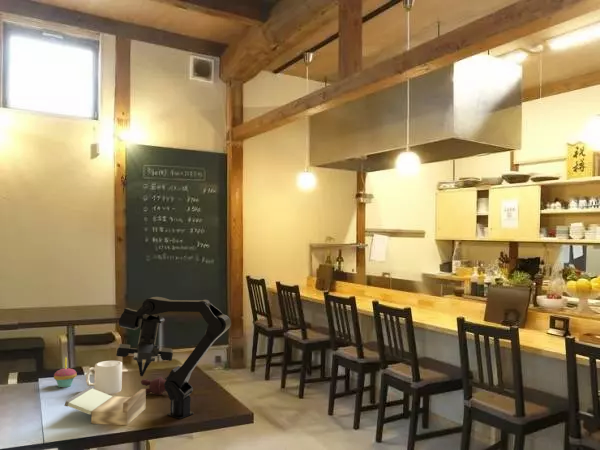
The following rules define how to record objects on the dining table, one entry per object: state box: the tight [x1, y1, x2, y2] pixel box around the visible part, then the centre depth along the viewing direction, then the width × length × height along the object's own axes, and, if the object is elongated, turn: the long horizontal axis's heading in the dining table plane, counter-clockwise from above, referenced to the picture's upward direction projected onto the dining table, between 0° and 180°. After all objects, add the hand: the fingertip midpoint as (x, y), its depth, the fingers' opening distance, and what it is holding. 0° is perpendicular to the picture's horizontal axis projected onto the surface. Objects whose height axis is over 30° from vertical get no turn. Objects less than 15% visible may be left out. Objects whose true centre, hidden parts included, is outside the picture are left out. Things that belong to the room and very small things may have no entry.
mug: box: [85, 360, 123, 395], centre depth 200 cm, size 14×10×11 cm
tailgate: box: [63, 386, 113, 416], centre depth 173 cm, size 2×16×9 cm
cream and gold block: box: [90, 388, 147, 426], centre depth 172 cm, size 12×16×7 cm
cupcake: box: [53, 356, 77, 388], centre depth 206 cm, size 9×8×12 cm
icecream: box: [140, 376, 167, 396], centre depth 196 cm, size 7×7×15 cm
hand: (141, 376), depth 177 cm, fingers closed
